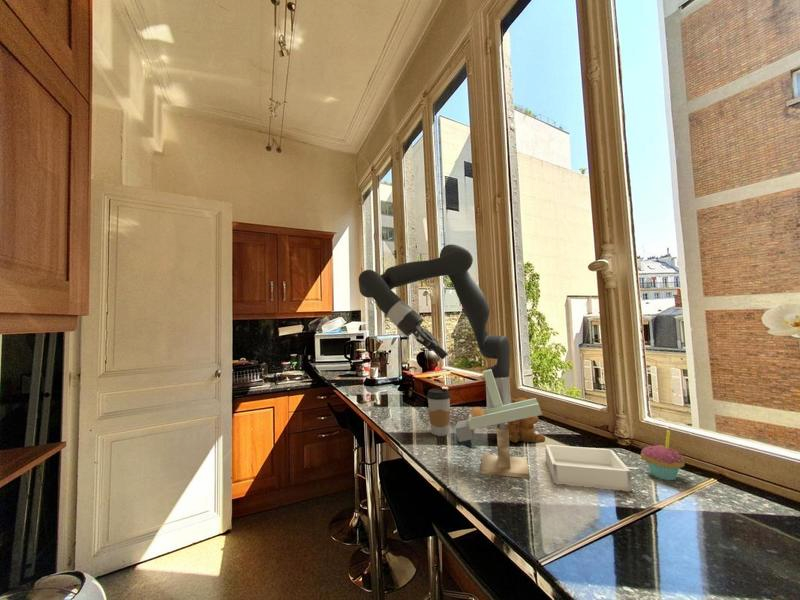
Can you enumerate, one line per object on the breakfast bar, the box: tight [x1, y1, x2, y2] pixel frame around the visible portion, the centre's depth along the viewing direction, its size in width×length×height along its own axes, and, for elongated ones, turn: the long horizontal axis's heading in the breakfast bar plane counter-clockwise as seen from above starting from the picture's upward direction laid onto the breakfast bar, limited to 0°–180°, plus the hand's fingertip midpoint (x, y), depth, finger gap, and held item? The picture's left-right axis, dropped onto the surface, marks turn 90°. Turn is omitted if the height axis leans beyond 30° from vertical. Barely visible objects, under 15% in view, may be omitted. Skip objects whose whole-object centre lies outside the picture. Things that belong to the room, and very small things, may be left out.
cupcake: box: [640, 427, 685, 481], centre depth 81 cm, size 9×8×12 cm
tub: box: [544, 444, 633, 492], centre depth 83 cm, size 16×13×4 cm
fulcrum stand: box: [480, 423, 531, 479], centre depth 89 cm, size 12×10×11 cm
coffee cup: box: [426, 387, 451, 437], centre depth 117 cm, size 8×8×15 cm
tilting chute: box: [454, 369, 543, 443], centre depth 91 cm, size 23×10×16 cm, turn 73°
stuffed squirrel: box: [505, 397, 546, 444], centre depth 109 cm, size 10×14×13 cm
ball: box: [470, 406, 484, 417], centre depth 91 cm, size 4×4×4 cm
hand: (445, 356), depth 98 cm, fingers closed
